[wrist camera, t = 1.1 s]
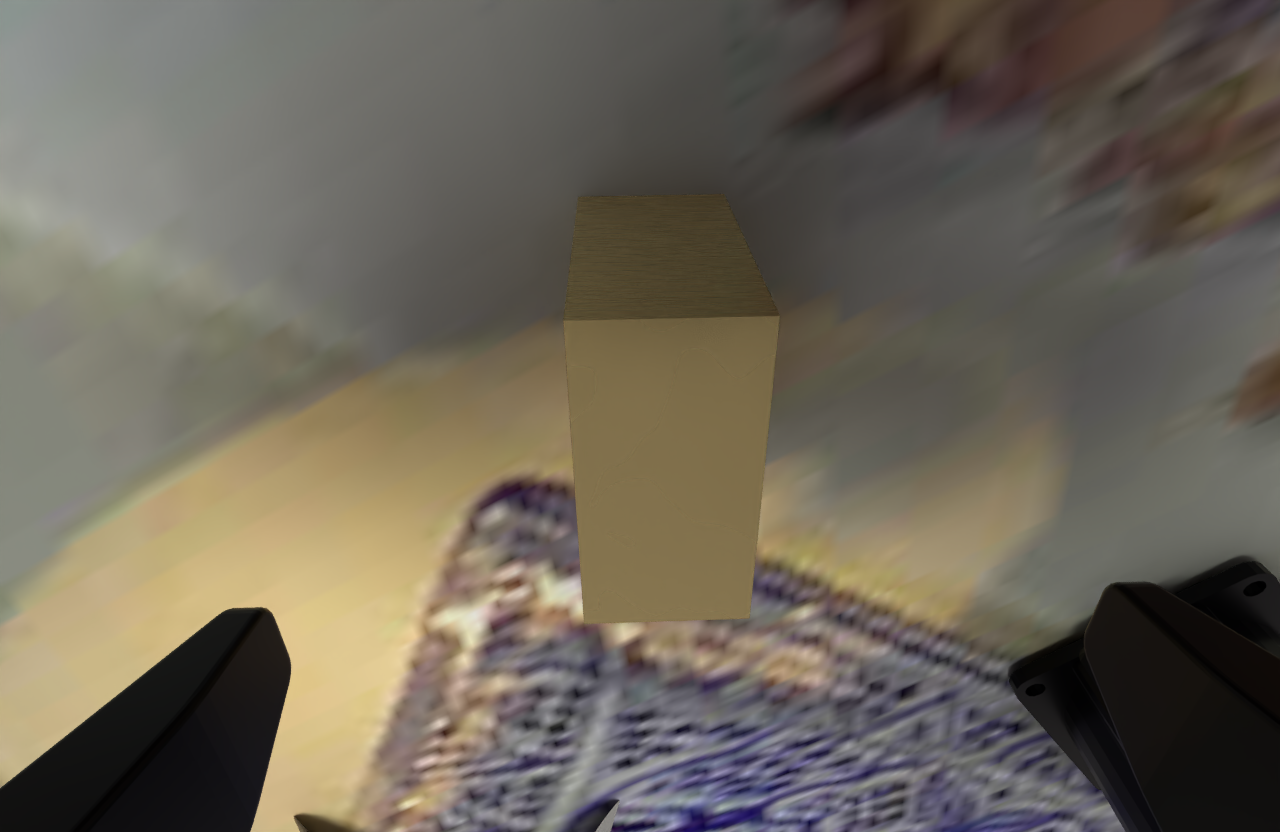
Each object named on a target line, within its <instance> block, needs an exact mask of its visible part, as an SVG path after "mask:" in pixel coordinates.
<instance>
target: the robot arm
mask: <svg viewBox="0 0 1280 832" xmlns="http://www.w3.org/2000/svg"><path fill="white" fill-rule="evenodd" d="M290 676H291V662H290V657H289V654H288V652H287V649H286V646H285V644H284V641H283V639H282V636H281V633H280V631H279V628H278V626H277V623H276V621H275V618H274V616H273V614H272V613H271V612H270V611H269V610H268V609H267V608H262V607H256V608H232V609H228V610H226V611H224V612H222V613H221V614H219V615H218V616H216V617H215V618H214V619H213V620H211V621H210V622H209V623H208V624H206V625H205V626H204V627H203V628H201V629H200V630H199V631H198V632H196V633H195V634H194V635H192V636H191V637H190V638H189V639H187V640H186V641H185V642H184V643H182V644H181V645H180V646H179V647H177V648H176V649H175V650H174V651H172V652H171V653H170V654H169V655H167V656H166V657H165V658H164V659H162V660H161V661H160V662H158V663H157V664H156V665H155V666H153V667H152V668H151V669H150V670H148V671H147V672H146V673H145V674H143V675H142V676H141V677H140V678H138V679H137V680H136V681H135V682H133V683H132V684H131V685H130V686H128V687H127V688H126V689H124V690H123V691H122V692H121V693H119V694H118V695H117V696H116V697H114V698H113V699H112V700H111V701H109V702H108V703H107V704H106V705H104V706H103V707H102V708H101V709H99V710H98V711H97V712H96V713H94V714H93V715H92V716H90V717H89V718H88V719H87V720H85V721H84V722H83V723H82V724H80V725H79V726H78V727H77V728H75V729H74V730H73V731H72V732H70V733H69V734H68V735H67V736H65V737H64V738H63V739H62V740H60V741H59V742H58V743H56V744H55V745H54V746H53V747H51V748H50V749H49V750H48V751H46V752H45V753H44V754H43V755H41V756H40V757H39V758H38V759H36V760H35V761H34V762H33V763H31V764H30V765H29V766H28V767H26V768H25V769H24V770H22V771H21V772H20V773H19V774H17V775H16V776H15V777H14V778H12V779H11V780H10V781H9V782H7V783H6V784H5V785H4V786H2V787H1V788H0V832H250V831H251V828H252V825H253V822H254V818H255V815H256V811H257V808H258V804H259V801H260V797H261V793H262V789H263V785H264V781H265V777H266V773H267V769H268V765H269V761H270V757H271V753H272V749H273V745H274V741H275V738H276V734H277V730H278V726H279V722H280V718H281V714H282V710H283V706H284V702H285V698H286V694H287V690H288V686H289V682H290ZM1009 683H1010V685H1011V687H1012V689H1013V691H1014V693H1015V695H1016V696H1017V698H1018V699H1019V701H1020V702H1021V703H1022V704H1023V705H1024V706H1025V707H1026V709H1027V710H1028V711H1029V712H1030V713H1031V714H1032V715H1033V717H1034V718H1035V719H1036V720H1037V721H1038V722H1039V723H1040V725H1041V726H1042V727H1043V728H1044V729H1045V730H1046V731H1047V733H1048V734H1049V735H1050V736H1051V737H1052V738H1053V739H1054V741H1055V742H1056V743H1057V744H1058V745H1059V746H1060V747H1061V749H1062V750H1063V751H1064V752H1065V753H1066V754H1067V755H1068V757H1069V758H1070V759H1071V760H1072V761H1073V762H1074V763H1075V765H1076V766H1077V767H1078V768H1079V769H1080V770H1081V771H1082V773H1083V774H1084V775H1085V776H1086V777H1087V778H1088V779H1089V781H1090V782H1091V783H1092V784H1093V785H1094V786H1095V787H1096V788H1097V789H1099V790H1102V792H1103V793H1104V795H1105V797H1106V799H1107V800H1108V802H1109V804H1110V805H1111V807H1112V809H1113V811H1114V812H1115V814H1116V816H1117V818H1118V819H1119V821H1120V823H1121V824H1122V826H1123V828H1124V830H1125V831H1126V832H1280V584H1279V582H1278V580H1277V578H1276V577H1275V576H1274V575H1273V574H1272V573H1271V572H1269V571H1268V570H1267V569H1266V568H1265V567H1264V566H1263V565H1262V564H1261V563H1259V562H1255V561H1252V562H1244V563H1242V564H1239V565H1236V566H1234V567H1232V568H1230V569H1228V570H1225V571H1223V572H1221V573H1219V574H1217V575H1215V576H1213V577H1211V578H1209V579H1207V580H1204V581H1202V582H1200V583H1198V584H1196V585H1194V586H1192V587H1190V588H1188V589H1185V590H1183V591H1181V592H1179V593H1177V594H1175V595H1173V594H1171V593H1170V592H1168V591H1166V590H1165V589H1163V588H1161V587H1159V586H1158V585H1156V584H1153V583H1150V582H1116V583H1112V584H1110V585H1109V586H1107V587H1106V588H1105V590H1104V591H1103V593H1102V595H1101V597H1100V600H1099V602H1098V604H1097V606H1096V609H1095V611H1094V613H1093V615H1092V618H1091V620H1090V622H1089V624H1088V626H1087V629H1086V631H1085V634H1084V638H1082V639H1080V640H1078V641H1076V642H1074V643H1072V644H1070V645H1067V646H1065V647H1063V648H1061V649H1059V650H1057V651H1055V652H1053V653H1051V654H1048V655H1046V656H1044V657H1042V658H1040V659H1038V660H1036V661H1034V662H1032V663H1030V664H1027V665H1025V666H1023V667H1021V668H1019V669H1018V670H1016V671H1015V672H1014V673H1013V674H1012V675H1011V676H1010V679H1009Z"/></svg>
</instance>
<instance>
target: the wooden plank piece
mask: <svg viewBox="0 0 1280 832" xmlns="http://www.w3.org/2000/svg"><path fill="white" fill-rule="evenodd" d="M779 321H780V315H779V313H778V311H777V308H776V306H775V304H774V302H773V300H772V298H771V295H770V293H769V291H768V289H767V287H766V285H765V282H764V280H763V278H762V276H761V274H760V271H759V269H758V267H757V265H756V263H755V261H754V258H753V256H752V254H751V252H750V250H749V247H748V245H747V243H746V241H745V239H744V237H743V234H742V232H741V230H740V228H739V226H738V223H737V221H736V219H735V217H734V215H733V213H732V210H731V208H730V206H729V204H728V202H727V200H726V197H725V195H724V194H707V195H652V196H596V197H578V203H577V211H576V220H575V228H574V236H573V244H572V253H571V261H570V269H569V277H568V286H567V294H566V302H565V311H564V319H563V324H564V339H565V353H566V368H567V382H568V397H569V411H570V426H571V440H572V455H573V469H574V484H575V498H576V513H577V527H578V542H579V556H580V571H581V585H582V599H583V614H584V624H595V623H626V622H656V621H687V620H718V619H748V618H750V608H751V598H752V588H753V578H754V568H755V558H756V548H757V539H758V529H759V519H760V509H761V499H762V489H763V479H764V469H765V459H766V449H767V439H768V430H769V420H770V410H771V400H772V390H773V380H774V370H775V360H776V350H777V340H778V330H779Z"/></svg>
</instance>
